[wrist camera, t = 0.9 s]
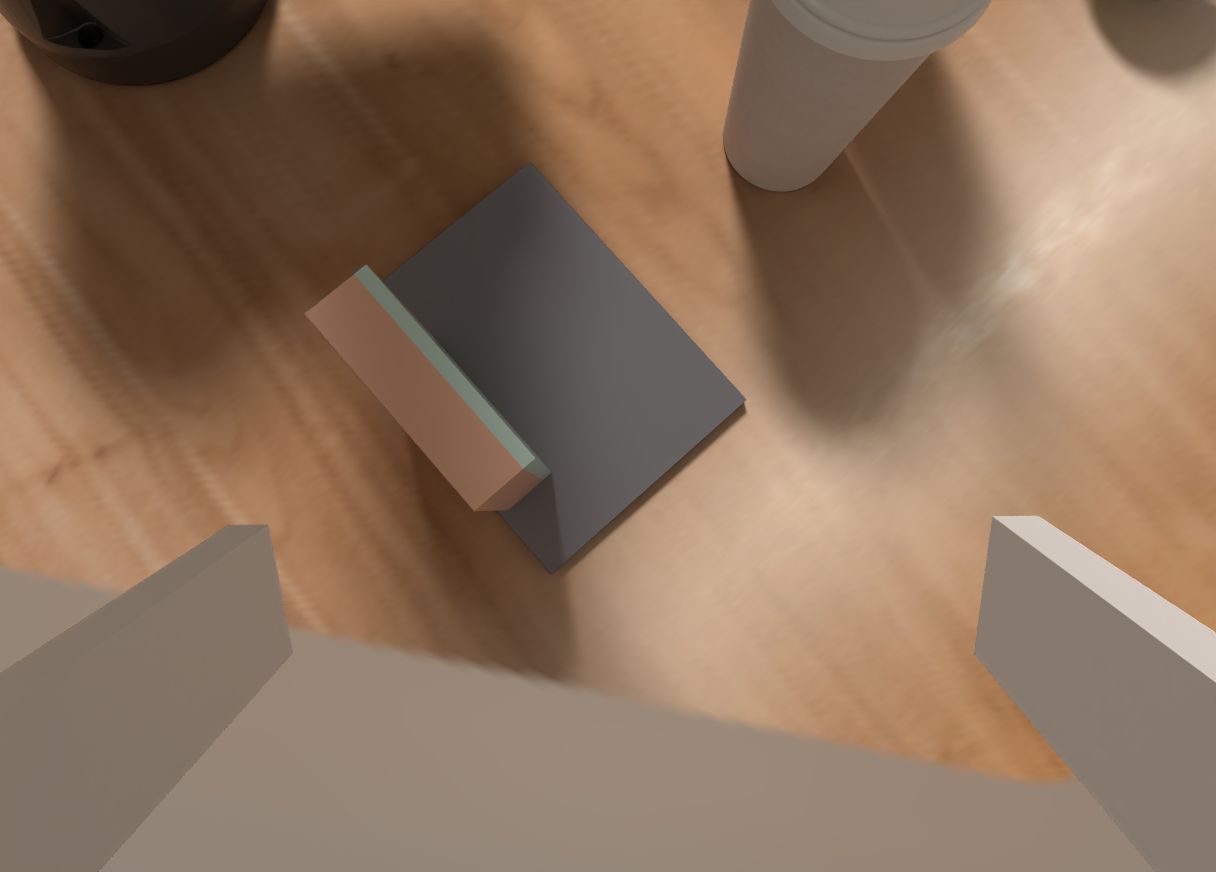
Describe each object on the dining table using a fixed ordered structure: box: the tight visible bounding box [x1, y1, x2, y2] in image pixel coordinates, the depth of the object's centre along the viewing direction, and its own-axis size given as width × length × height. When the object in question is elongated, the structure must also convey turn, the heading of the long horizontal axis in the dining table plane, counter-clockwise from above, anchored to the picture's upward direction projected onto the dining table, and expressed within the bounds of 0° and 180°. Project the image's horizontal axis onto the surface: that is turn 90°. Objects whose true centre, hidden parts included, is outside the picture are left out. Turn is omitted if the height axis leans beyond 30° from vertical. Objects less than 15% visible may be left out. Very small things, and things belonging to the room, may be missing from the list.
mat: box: [382, 162, 746, 574], centre depth 35 cm, size 18×14×1 cm
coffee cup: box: [723, 0, 991, 192], centre depth 30 cm, size 10×10×15 cm
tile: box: [305, 265, 552, 511], centre depth 29 cm, size 10×3×10 cm, turn 41°
